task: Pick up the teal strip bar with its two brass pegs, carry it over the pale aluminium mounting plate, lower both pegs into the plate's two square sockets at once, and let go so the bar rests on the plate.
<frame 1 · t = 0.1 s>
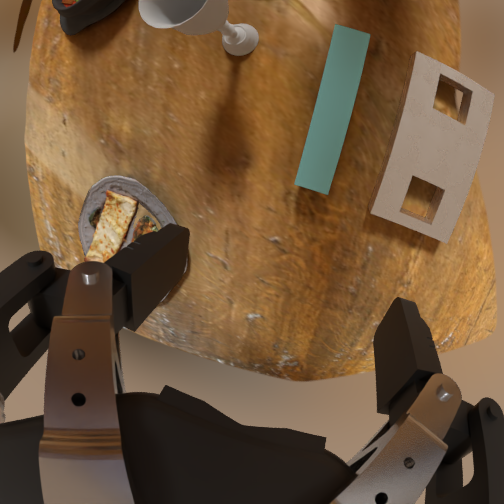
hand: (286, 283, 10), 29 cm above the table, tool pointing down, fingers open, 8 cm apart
chalice: (240, 39, 30), on the table
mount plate: (432, 147, 30), on the table
strip bar: (333, 108, 32), on the table
food plate: (130, 241, 50), on the table
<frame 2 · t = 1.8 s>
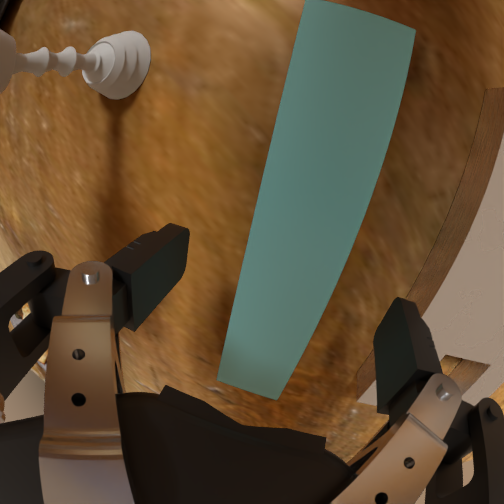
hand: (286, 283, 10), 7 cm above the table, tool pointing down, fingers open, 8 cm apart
chalice: (122, 64, 14), on the table
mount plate: (491, 283, 14), on the table
strip bar: (307, 213, 16), on the table
food plate: (58, 341, 34), on the table
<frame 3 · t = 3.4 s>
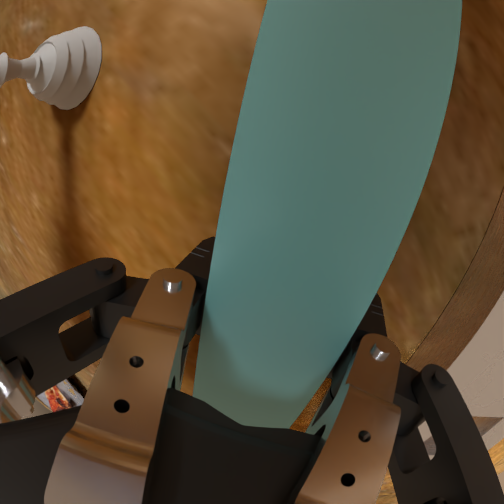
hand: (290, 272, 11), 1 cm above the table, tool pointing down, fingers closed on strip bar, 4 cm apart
chalice: (73, 67, 11), on the table
strip bar: (296, 255, 12), on the table, touching gripper
food plate: (40, 363, 30), on the table
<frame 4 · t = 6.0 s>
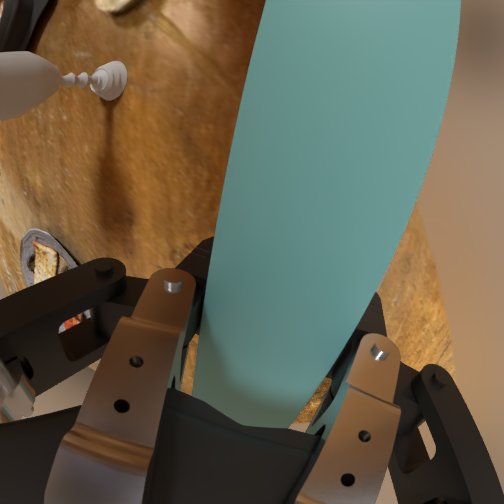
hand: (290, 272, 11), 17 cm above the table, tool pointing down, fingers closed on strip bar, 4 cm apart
chalice: (112, 80, 26), on the table
strip bar: (295, 256, 12), point 16 cm above the table, touching gripper
food plate: (62, 286, 46), on the table
casserole: (21, 29, 24), on the table
when the fingers open (3 cm above the table, at t = 8.9 s): strip bar drops 1 cm, resting on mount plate.
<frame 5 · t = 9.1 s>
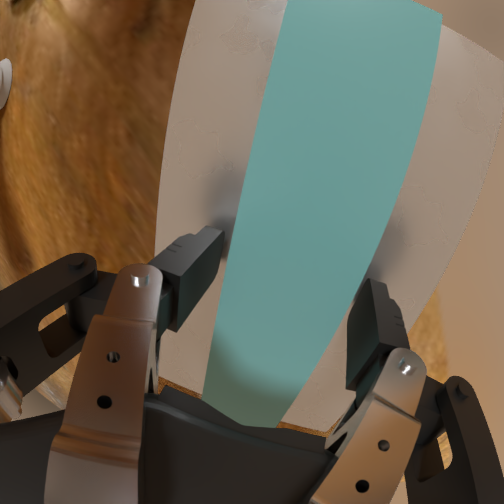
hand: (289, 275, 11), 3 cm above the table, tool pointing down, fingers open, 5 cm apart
chalice: (2, 84, 14), on the table
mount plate: (299, 239, 14), on the table
strip bar: (299, 241, 14), resting on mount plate
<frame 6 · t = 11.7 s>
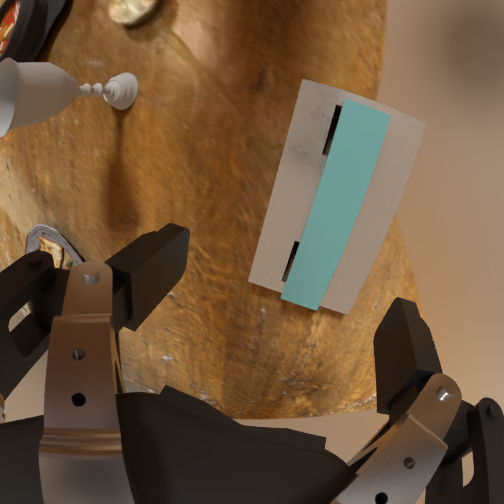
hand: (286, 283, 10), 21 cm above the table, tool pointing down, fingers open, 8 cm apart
chalice: (123, 91, 29), on the table
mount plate: (332, 199, 29), on the table
strip bar: (333, 200, 29), resting on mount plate
food plate: (64, 280, 48), on the table
casserole: (35, 30, 27), on the table
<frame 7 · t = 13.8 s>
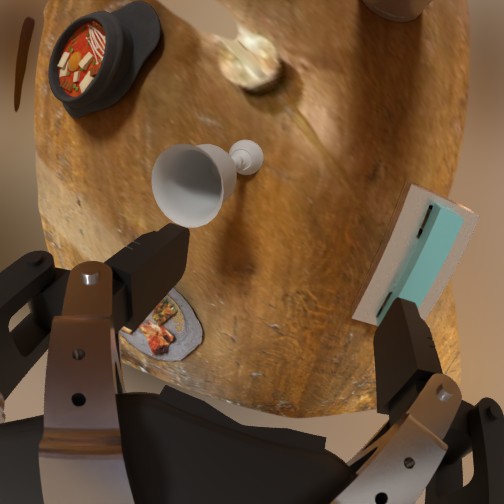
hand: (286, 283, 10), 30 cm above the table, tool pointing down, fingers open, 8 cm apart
chalice: (246, 157, 39), on the table
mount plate: (412, 261, 38), on the table
strip bar: (412, 262, 38), resting on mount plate
food plate: (151, 312, 58), on the table
casserole: (109, 60, 36), on the table
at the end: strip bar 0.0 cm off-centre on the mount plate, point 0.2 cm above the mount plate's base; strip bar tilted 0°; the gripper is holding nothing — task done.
